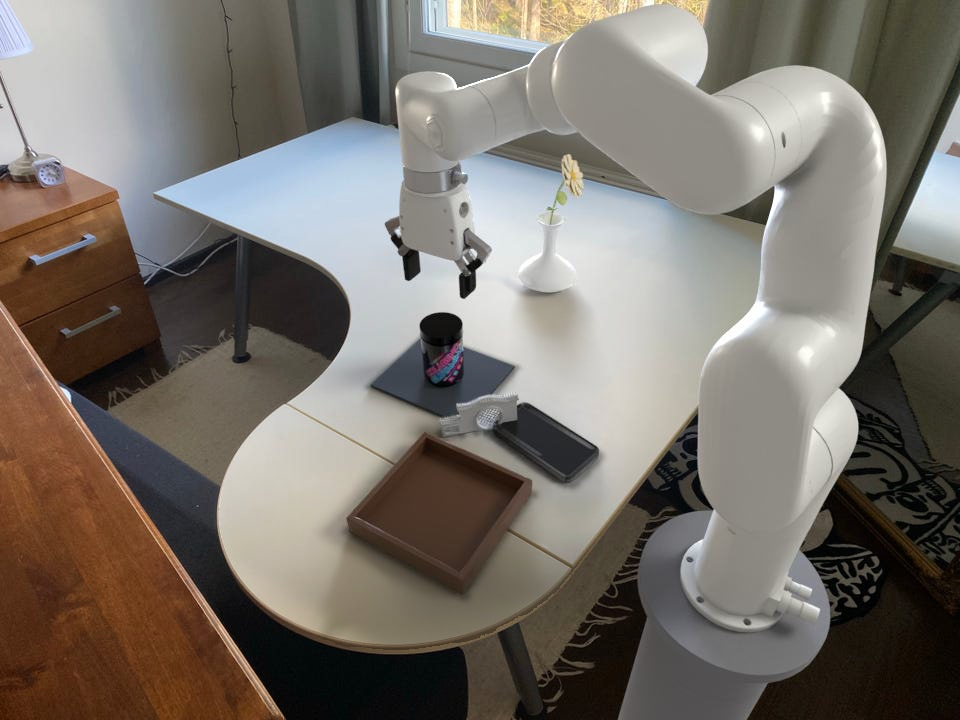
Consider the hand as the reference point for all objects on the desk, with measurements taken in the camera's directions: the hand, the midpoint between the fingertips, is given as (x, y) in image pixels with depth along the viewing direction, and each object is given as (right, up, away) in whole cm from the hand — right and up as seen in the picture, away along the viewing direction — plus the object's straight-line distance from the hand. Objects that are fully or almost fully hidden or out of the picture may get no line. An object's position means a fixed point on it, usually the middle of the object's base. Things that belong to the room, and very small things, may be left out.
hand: (439, 285), depth 98 cm
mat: (0, -14, +12) cm, 18 cm away
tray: (+1, -31, -9) cm, 33 cm away
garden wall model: (+6, -21, +2) cm, 22 cm away
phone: (+15, -23, 0) cm, 28 cm away
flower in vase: (+20, +5, +34) cm, 40 cm away
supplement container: (0, -14, +12) cm, 18 cm away
